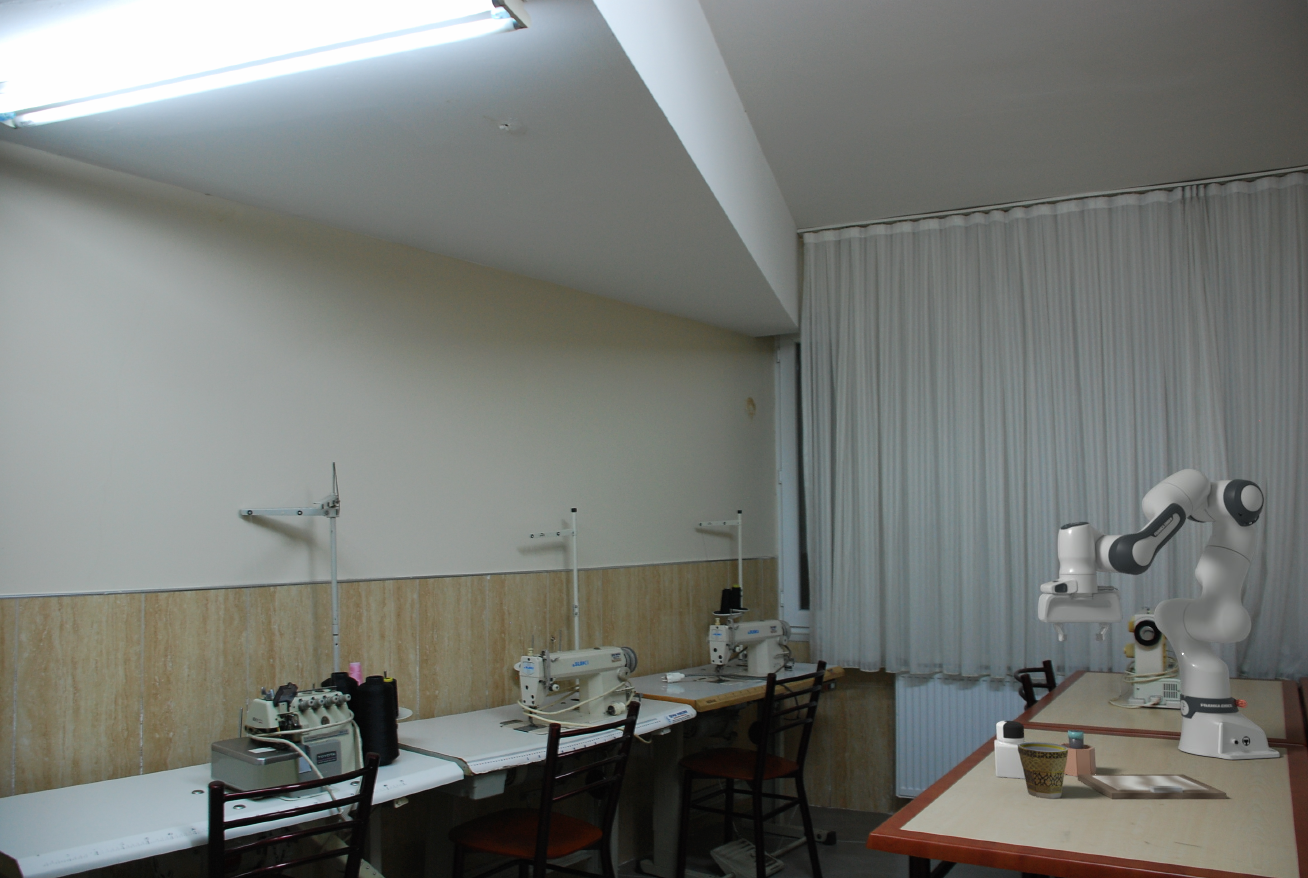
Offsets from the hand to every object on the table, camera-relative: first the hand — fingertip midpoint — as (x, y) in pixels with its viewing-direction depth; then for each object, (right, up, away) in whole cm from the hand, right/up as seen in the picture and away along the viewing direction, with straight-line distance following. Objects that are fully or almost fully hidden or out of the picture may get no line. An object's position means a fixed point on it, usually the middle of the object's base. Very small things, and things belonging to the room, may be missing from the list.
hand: (1081, 641), depth 234 cm
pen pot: (-9, -27, -17) cm, 33 cm away
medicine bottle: (-25, -27, -19) cm, 42 cm away
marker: (-9, -27, -17) cm, 33 cm away
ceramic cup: (-25, -25, -35) cm, 50 cm away
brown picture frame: (0, -25, -32) cm, 41 cm away
